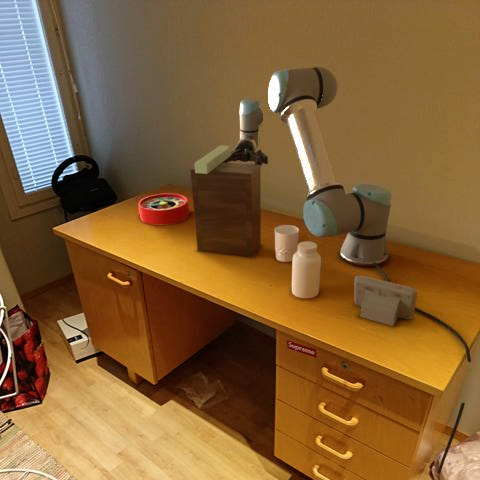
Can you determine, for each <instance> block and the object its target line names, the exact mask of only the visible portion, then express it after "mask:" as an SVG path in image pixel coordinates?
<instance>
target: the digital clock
mask: <svg viewBox="0 0 480 480" xmlns="http://www.w3.org/2000/svg"><path fill="white" fill-rule="evenodd" d="M353 281H354V282H353V286H354V287H353V291H354V293H353V294H354V298H353V299H354V304H355V305H356V306H357V307H360V308H361V309H360V314H359V315H360V316H359V317H360V318H363V319H365V320H370V321H373V322H376V323H380V324H384V325H388V326H391V327H394V326H395V324H396V322H397V320H398V318H401V319H404V320H411V319H412V318H413V317H414V315H415V311H416V310H415V307H416V303H417V297H418V291H417V290H416V288H414V287H412V286H408V285H403V284H399V283H395V282H390V281H389V282H387V281H386V280H383V279H378V278H374V277H370V276H366V275H361V274H360V275H356V276H354V280H353Z"/></svg>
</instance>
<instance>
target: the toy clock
mask: <svg viewBox="0 0 480 480" xmlns="http://www.w3.org/2000/svg"><path fill="white" fill-rule="evenodd" d="M137 205H138V212H139V218H140V220H141V222H143V223H146V224H149V225H154V226H155V225H156V226H164V225H165V226H166V225H171V224H177V223H180V222H182V221H184V220H186V219H187V218H189V216H190V208H189V199H188V198H187V196H186V195H184V194H183V195H182V194H180V193H171V192H169V193H168V192H167V193H157V194H152V195H148V196H145V197H144V198H141V199H140V200H139V201H138V203H137Z"/></svg>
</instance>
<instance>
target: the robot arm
mask: <svg viewBox="0 0 480 480" xmlns="http://www.w3.org/2000/svg"><path fill="white" fill-rule="evenodd" d="M337 93H338V82H337V79H336V76H335V74H333V72H332V71H330V69H327V68H325V67H321V66H320V67H319V66H315V67H314V66H313V67H306V68H305V67H304V68H292V69H289V68H285V69H280V70H276V71H275V72H274V73H273V74H272V76H271V78H270V81H269V84H268V91H267V101H268V102H267V103H268V104H269V107H270V110H271V111H272V112H275V113H278V112H279V114H280V117H281V120H282V121H283V122H284V123H283V124H287V126H288V129H289V133H290V136H291V138H292V143H293V145H294V148H295V152H296V155H297V159H298V161H299V165H300V168H301V171H302V174H303V178H304V181H305V184H306V187H307V190H308V194H307V196H305V203H304V204H303V207H302V213H303V215H302V217H303V221H304V224H305V226H306V228H307V230H308V231H309V233H310V234H312V236H314V237H316V238H320V239H321V238H332V237H334V236H340V235H344V234H345V235H346V234H347V235H346V237H345V239H344V241H343V244H342V246H341V248H340V253H339V257H340V259H341V260H342V261H344V262H345V263H347V264H349V265H352V266H356V267H360V268H361V267H362V268H374V267H376V269H377V270H378V271H379V272H380V273H381V275H382V276H383V277H384V279H385V281H387V282H390V280H389V278H388V276H387V274H386V272H385V271H384V270H383V269H382V268H381V267H380V266H381V265H384V264H385V263H386V262H387V261H388V258H389V250H388V244H387V237H386V234H387V229H388V223H389V217H390V212H391V207H392V193H391V191H390V190H388V189H387V188H385V187H382V186H379V185H374V184H367V183H362V184H361V183H359V184H356V185H354V186H353V188H352V192H350V193H349V192H348V193H346V191H345V188H344V185H343V184H342V183H340V182H337V180H336V177H335V174H334V171H333V167H332V165H331V161H330V158H329V155H328V152H327V148H326V145H325V143H324V139H323V136H322V132H321V129H320V127H319V123H318V120H317V117H316V114H315V112H316V111H317V109H322V108H324V107H326V106H329V104H331V103H333V101H334V100H335V98H336V96H337ZM322 95H323V96H322ZM252 99H253V98H246V99H242V100H241V101H240V103H239V141H238V142H237V144H236V145H235V148H234V150H233V151H232V150H231V156H230V157H228V158H227V159H226V160H224V161H223V163H231V162H237V161H240V162H242V163H247V162H254V164H255V165H260V167H262V166H263V164H264V165H269V156H268V155H266V153H264V152H263V151H262V149H258V147H259V145H258V132H259V129H260V126H261V125H260V124H261V123H262V121H263V113H262V111H261V109H260V108H259V105H260V101H259V100H258V99H255V100H252ZM321 99H322V100H321ZM257 100H258V101H257ZM257 149H258V150H257ZM415 311H416V312H417V313H419V314H422V315H423V316H426V317H428V318H430V319H432V320H433V321H435V322H436V323H439V324H440V325H442V326H443V327H445V328H446V329H447V330H449V331H450V332H451V333H452V334H454V336H456V337H457V339H458V341H460V342H461V344H462V346H463V347H464V349H465V353H466V355H465V356H466V362H468V363H471V362H472V358H471V352H470V347H469V344H468V343H467V342H466V340H465V339H464V338H463V336H461V335H460V333H459V332H457V331H456V330H455V329H454V328H453V327H452V326H451V325H449V324H447V323H446V322H445V321H443V320H441V319H439V318H438V317H436V316H435V315H432V314H430V313H428V312H426V311H424V310H422V309H420V308H418V307H417V306H415ZM465 404H466V402H461V404H460V407H459V410H458V414H457V417H456V420H455V423H454V426H453V428H452V431H451V434H450V437H449V439H448V441H447V445H446V447H445V449H444V452H443V455H442V458H441V461H440V463H439V467H438V470H437V474H439V475H440V474H442V470H443V466H444V463H445V461H446V458H447V455H448V453H449V450H450V447H451V445H452V443H453V440H454V437H455V435H456V432H457V429H458V426H459V424H460V421H461V418H462V414H463V412H464V408H465Z"/></svg>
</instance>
